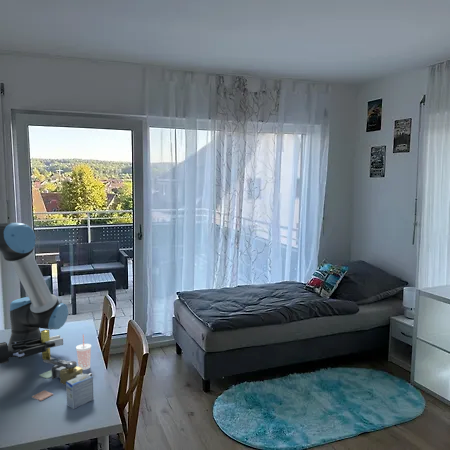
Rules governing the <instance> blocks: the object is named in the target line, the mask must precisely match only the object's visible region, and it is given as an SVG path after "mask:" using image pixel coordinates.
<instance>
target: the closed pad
mask: <svg viewBox="0 0 450 450" xmlns="http://www.w3.org/2000/svg"><path fill="white" fill-rule="evenodd" d="M51 396H54V393H52V392H49V391H48V390H45V389H44V390H42V391H40V392H38V393H36V394H33V395H32V396H31V398H32V399H35V400H37V401H39V402H42V401H43V400H46V399H48V398H50V397H51Z"/></svg>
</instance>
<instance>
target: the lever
mask: <svg viewBox="0 0 450 450" xmlns="http://www.w3.org/2000/svg"><path fill="white" fill-rule="evenodd" d="M40 332H41V343H45V341H50V337H51V336H50V329H43V330H40ZM41 359H42V361H43V363H47V364H50V365H53V366H55V365H58V366H63V367H65V368H66V369H73V368H75V367H76V366H77V367H78V365H77V364H78V362H77V361H74V360H73V361H68V360H64V359H61V358H60V359H59V358H56V357H51V348H47V349H46V352H41Z"/></svg>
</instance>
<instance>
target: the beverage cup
mask: <svg viewBox="0 0 450 450" xmlns="http://www.w3.org/2000/svg"><path fill="white" fill-rule="evenodd" d="M91 349H92V344H91V343H85V334H82V343H80V344H77V345H76V346H75V350H76V355H77V356H76V357H77V364H78V365H77V367H80V368H82V369H83V371H84V370H85V371H86V370H89V369H90V368H91V356H92V355H91V353H92V352H91V351H92V350H91Z"/></svg>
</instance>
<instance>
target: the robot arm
mask: <svg viewBox="0 0 450 450" xmlns="http://www.w3.org/2000/svg"><path fill="white" fill-rule="evenodd" d="M36 239H37V237H36V234H35V232H34V230H33V228H32V227H31V226H30V225H29V224H25V223H21V222H0V253H1V255H2V257H3V259H4V261H6V262H9V263H11V265H12V267H13V269H14V271H15V273H16V276H17V278H18V279H19V281H20V283H21V285H22V287H23V289H24V291H25V293H26V295H27V296H25V297H21V298H17V299H14V300H13V301H11V302H10V305H9V317H10V318H9V319H10V328H11V329H10V330H11V331H10V332H11V334H10V337H9V340H8V343H7V342H6V341H3V342H0V365H3V364H7V363H9V360H10V358H17V357H18V359H23V358H26V357H30V356H33V355H37V354H42V352H46V349H47V348H50V349H51V348H55V347H59V346H63V345H64V338H63V337H61V335H58V334H57V335H54V336H50V341H45V343H41V329H43V330H49V331H50V330H51V331H52V330H59V329H61V328H62V327H64V325H65V324H66V322H67V319H68V316H69V307H68V305H67V304H66V303H63V302H60V301H59V299H58V297H57V296H56V294H52V293H51V291H50V289H49V286H48V284H47V283H46V279H45V277H44V276H43V273H42V271H41V269H40V267H39V265H38V263H37V261H36V259H35V256H34V254H33V253H34V251H35V246H36V241H35V240H36Z"/></svg>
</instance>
